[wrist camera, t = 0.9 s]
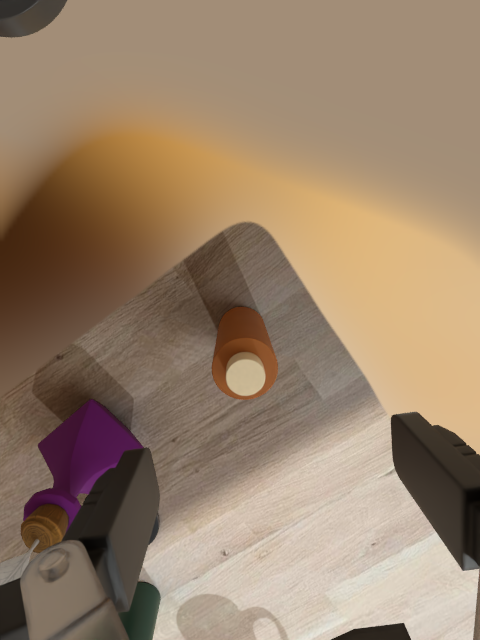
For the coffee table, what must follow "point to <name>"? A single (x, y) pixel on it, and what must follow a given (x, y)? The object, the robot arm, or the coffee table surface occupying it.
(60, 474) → the perfume bottle
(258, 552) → the coffee table surface
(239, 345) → the amber bottle
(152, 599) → the green bottle
